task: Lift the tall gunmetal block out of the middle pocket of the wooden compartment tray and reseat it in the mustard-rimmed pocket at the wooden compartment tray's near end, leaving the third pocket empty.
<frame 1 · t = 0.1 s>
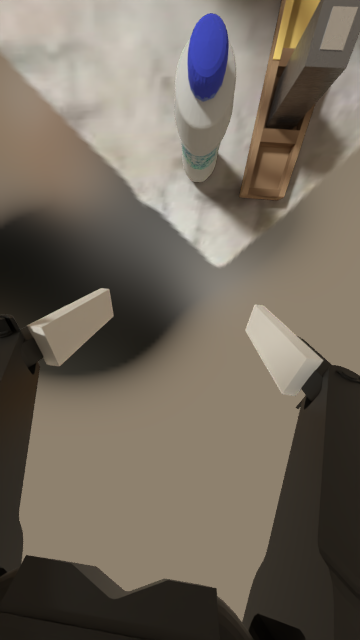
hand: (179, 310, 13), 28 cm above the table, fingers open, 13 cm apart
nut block: (284, 108, 24), point 1 cm above the table, touching wooden compartment tray
wooden compartment tray: (281, 112, 25), on the table
bottle: (199, 164, 29), on the table
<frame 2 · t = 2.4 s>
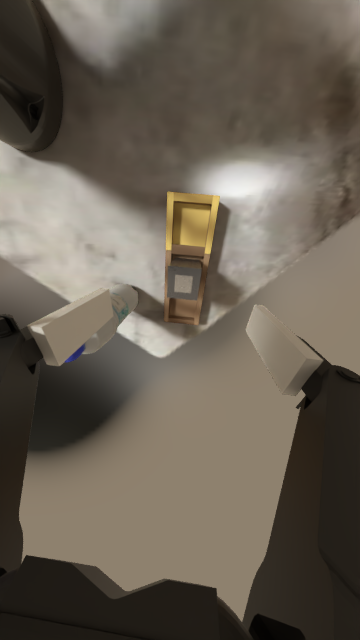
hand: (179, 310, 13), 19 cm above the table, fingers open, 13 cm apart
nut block: (186, 270, 29), point 1 cm above the table, touching wooden compartment tray
wooden compartment tray: (186, 269, 30), on the table
bottle: (128, 294, 34), on the table
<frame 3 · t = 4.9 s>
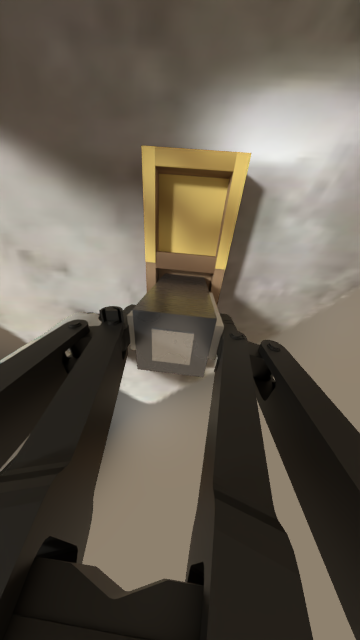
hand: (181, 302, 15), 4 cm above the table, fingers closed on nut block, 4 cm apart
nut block: (182, 294, 17), point 1 cm above the table, touching gripper, wooden compartment tray
wooden compartment tray: (183, 291, 18), on the table
bottle: (95, 325, 22), on the table
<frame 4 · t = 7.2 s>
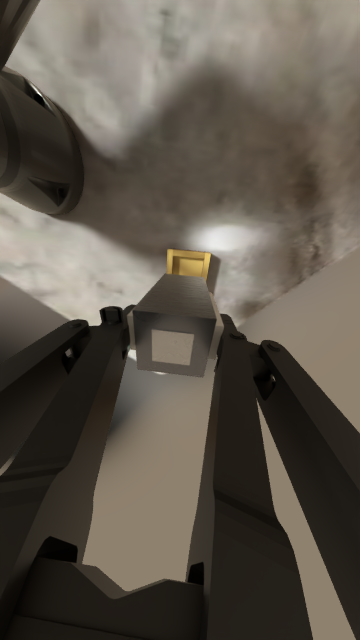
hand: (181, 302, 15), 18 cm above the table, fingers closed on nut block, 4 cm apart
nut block: (182, 294, 17), point 15 cm above the table, touching gripper
wooden compartment tray: (184, 303, 34), on the table
when the fingers open (5 cm above the table, at t = 10.0 s): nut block drops 1 cm, resting on wooden compartment tray.
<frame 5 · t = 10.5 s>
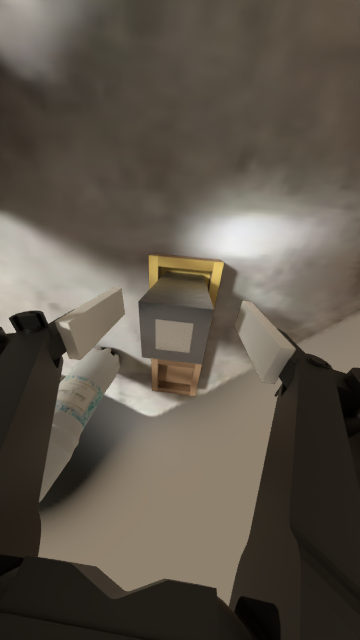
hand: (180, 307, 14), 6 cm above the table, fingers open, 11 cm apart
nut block: (183, 291, 18), point 1 cm above the table, touching wooden compartment tray
wooden compartment tray: (179, 334, 23), on the table
bottle: (107, 356, 27), on the table
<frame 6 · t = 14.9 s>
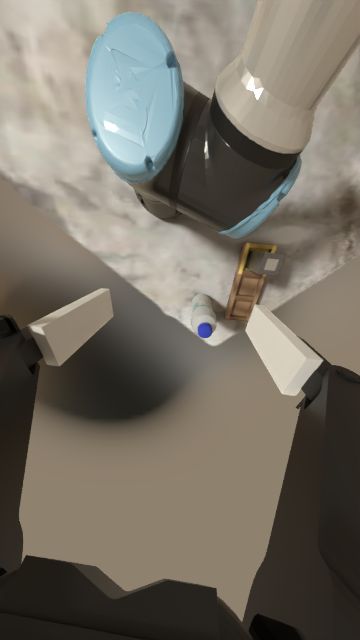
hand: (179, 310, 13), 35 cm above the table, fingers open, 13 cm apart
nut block: (254, 259, 41), point 1 cm above the table, touching wooden compartment tray
wooden compartment tray: (245, 284, 45), on the table
bottle: (201, 300, 49), on the table
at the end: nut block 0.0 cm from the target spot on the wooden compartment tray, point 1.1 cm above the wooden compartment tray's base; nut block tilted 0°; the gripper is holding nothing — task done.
